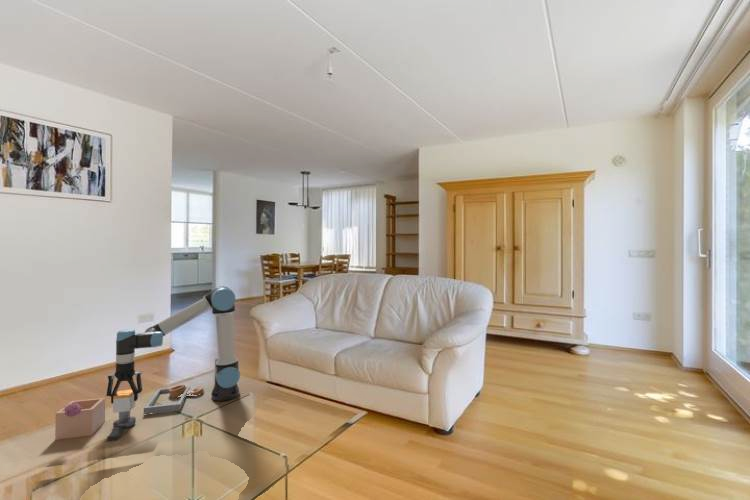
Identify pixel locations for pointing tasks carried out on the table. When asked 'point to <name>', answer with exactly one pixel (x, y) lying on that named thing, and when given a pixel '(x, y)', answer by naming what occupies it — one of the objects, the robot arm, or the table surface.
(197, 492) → the table surface
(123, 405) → the orange-topped grey block
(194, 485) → the table surface
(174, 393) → the brown long-handled pot
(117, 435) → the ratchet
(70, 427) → the open pinkish beige box
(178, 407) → the frame
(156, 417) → the table surface
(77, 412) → the artificial flower
